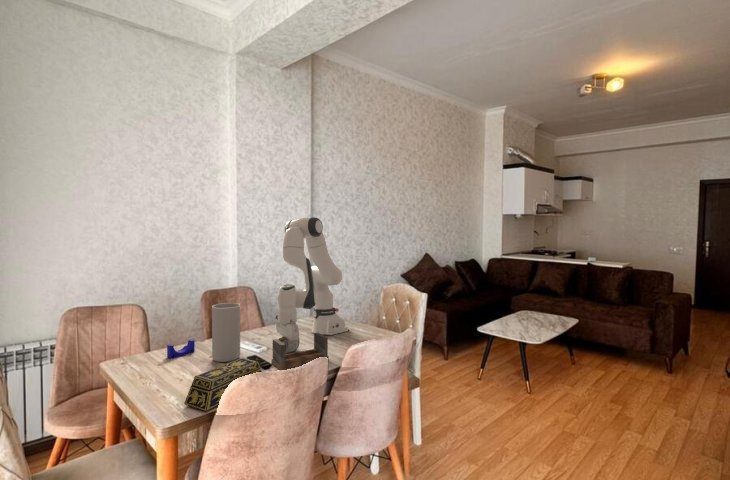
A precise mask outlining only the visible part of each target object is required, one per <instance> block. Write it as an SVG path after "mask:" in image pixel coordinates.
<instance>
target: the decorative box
mask: <svg viewBox="0 0 730 480" xmlns="http://www.w3.org/2000/svg"><path fill="white" fill-rule="evenodd" d="M256 372H262V373H263V371H262V368H261V366H260V362H259V361H257V360H254V359H249V358H246V357H241V358H238V359H236V360H233V361H229V362H227V363H225V364H222V365H220V366H218V367H216V368H213V369H210V370H207V371H205V372H203V373H200V374H198V375H195V376H194V377H193V380H192V382H191V386H190V388H189V389H188V393H187V394H186V395H187V396H186V398H185V401H184V406H187V407H192V408H195V409H197V410H201V411H203V412H207V411H209V410H211V409H214V408H215V407H217V406H219V405H220V404H219V401H220V399H221V396H222V394H223V393H224V391H225V389H226V388H227V387H228V385H229V384H230V383H231V382H232V381H233V380H235V379H237V378H239V377H242V376H245V375H249V374H253V373H256ZM218 404H219V405H218Z"/></svg>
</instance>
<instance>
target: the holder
mask: <svg viewBox="0 0 730 480" xmlns="http://www.w3.org/2000/svg"><path fill="white" fill-rule="evenodd" d="M278 339H279V338H274V339H272V358H271V365H272V366H274V367H275V368H277V370H279V371H284V370H290V369H294V367H295V368H298V366H299V367H302V366H301V365H303V364H306V363H308V362H310V361H312V360H314V359H316V358H319V357H327V358H328V361H330V359H329V351H328V350H329V349H328V348H329V347H328V343H329V342H328V340H329V337H328V336H327V335H325V334H320V333H318V332H317V333H313V348H312V349H305V350H301V351H294V352H291V353H288V354H285V344H284V343H282V342H281V341H279V340H278ZM289 368H290V369H289Z"/></svg>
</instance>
